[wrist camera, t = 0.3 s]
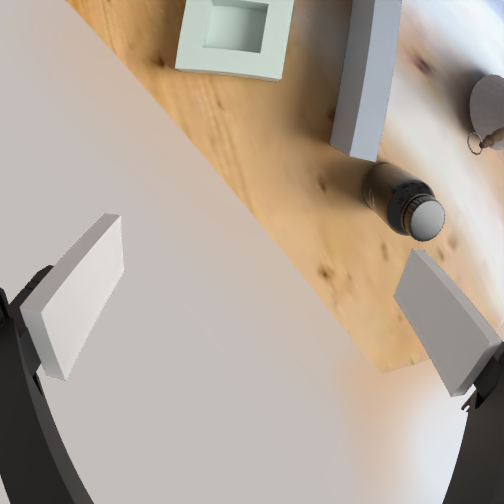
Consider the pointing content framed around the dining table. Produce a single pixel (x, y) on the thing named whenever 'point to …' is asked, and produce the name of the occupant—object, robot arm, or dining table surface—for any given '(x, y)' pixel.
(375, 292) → the dining table surface
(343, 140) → the wall
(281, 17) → the socket block
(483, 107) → the coffee pot
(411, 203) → the supplement bottle
